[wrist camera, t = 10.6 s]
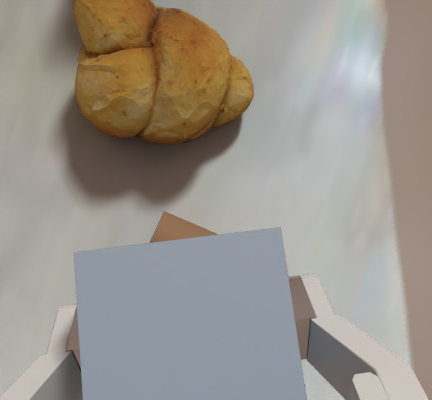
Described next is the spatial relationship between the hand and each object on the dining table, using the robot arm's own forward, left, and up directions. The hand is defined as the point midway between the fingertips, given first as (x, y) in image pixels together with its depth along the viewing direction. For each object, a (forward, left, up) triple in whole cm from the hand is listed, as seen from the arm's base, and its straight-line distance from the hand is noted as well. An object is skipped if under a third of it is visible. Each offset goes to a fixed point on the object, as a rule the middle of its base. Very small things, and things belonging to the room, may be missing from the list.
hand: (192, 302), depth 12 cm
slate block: (0, 0, -5) cm, 5 cm away
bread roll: (+10, +11, -17) cm, 23 cm away
